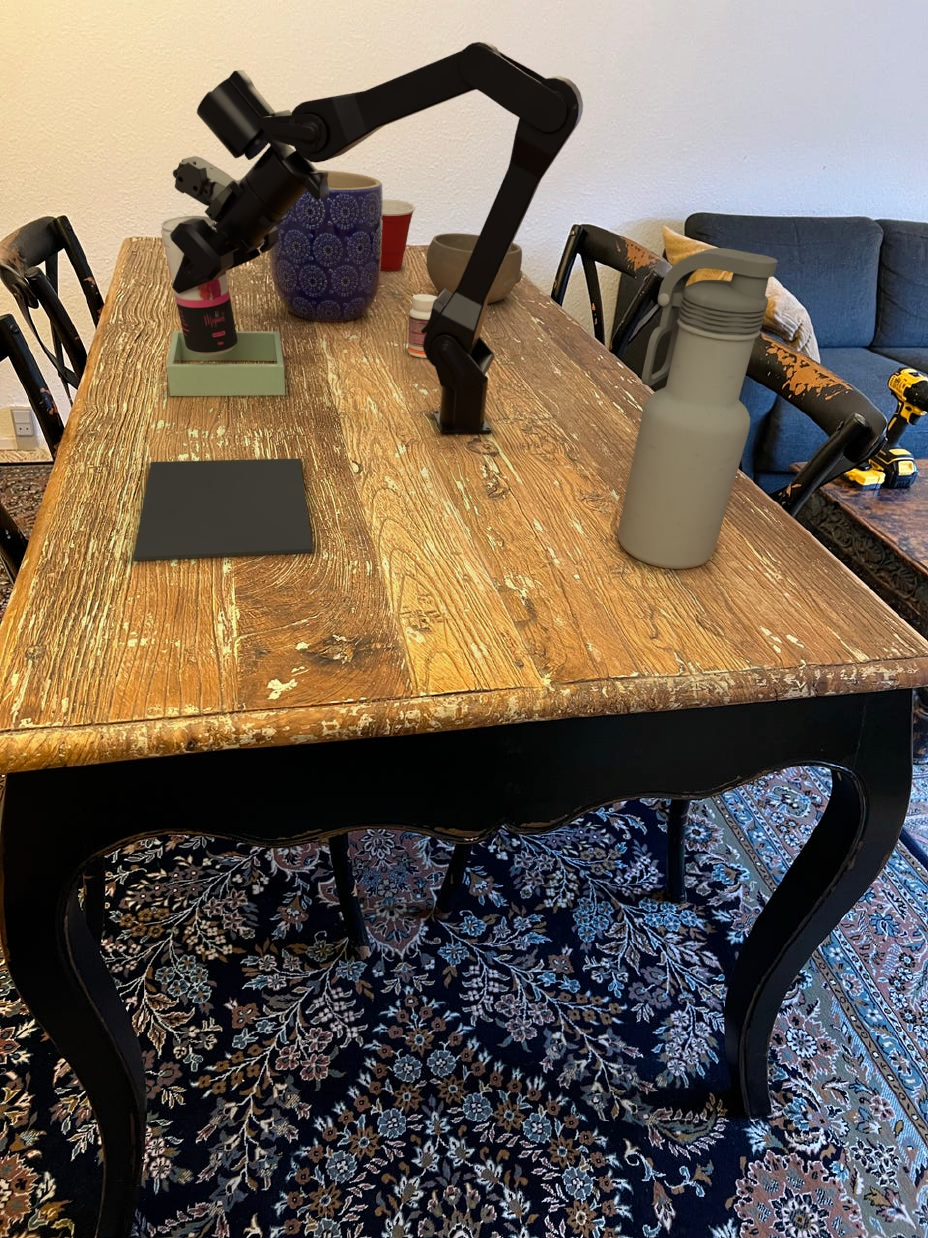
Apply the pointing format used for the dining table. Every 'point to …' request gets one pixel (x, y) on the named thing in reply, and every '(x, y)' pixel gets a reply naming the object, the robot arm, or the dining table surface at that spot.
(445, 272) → the bowl
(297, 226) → the planter
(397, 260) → the plastic cup
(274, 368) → the basin
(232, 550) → the mat
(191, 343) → the beverage can
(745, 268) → the water bottle
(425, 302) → the pill bottle
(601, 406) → the dining table surface
